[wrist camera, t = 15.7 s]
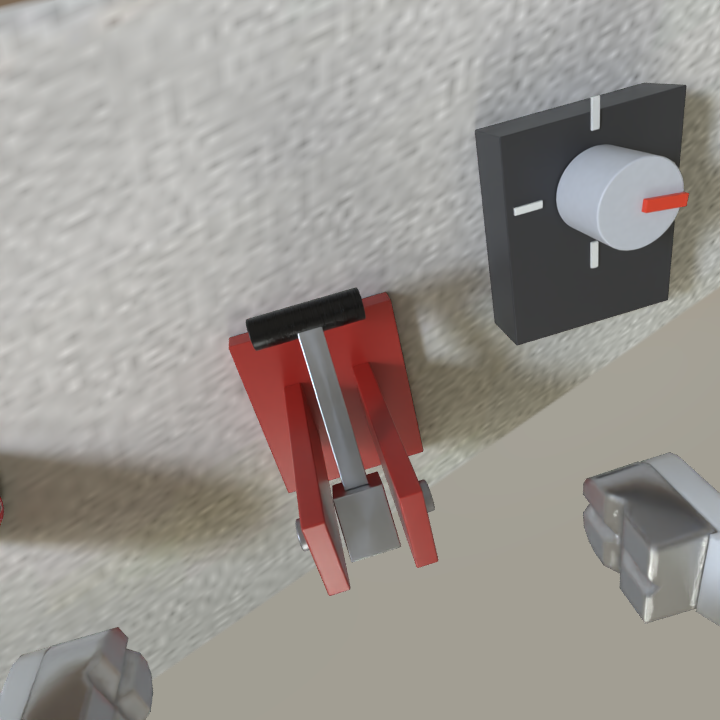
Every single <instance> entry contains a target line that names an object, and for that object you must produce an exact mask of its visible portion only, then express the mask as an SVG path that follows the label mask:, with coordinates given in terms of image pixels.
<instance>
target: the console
mask: <svg viewBox="0 0 720 720" xmlns="http://www.w3.org/2000/svg"><path fill="white" fill-rule="evenodd" d="M685 96H686V85H675V84H654V83H642V84H638V85H635V86H631V87H628V88H624V89H621V90H617V91H613V92H610V93H606V94H603V95H597V96H594V97H591V98H588V99H585V100H581V101H578V102H574V103H570V104H567V105H563V106H560V107H556V108H552V109H549V110H545V111H542V112H538V113H535V114H531V115H527V116H524V117H520V118H517V119H513V120H510V121H506V122H502V123H499V124H495V125H492V126H488V127H484V128H481V129H477V130H475V137H476V146H477V156H478V165H479V175H480V184H481V194H482V204H483V213H484V223H485V232H486V242H487V251H488V261H489V271H490V280H491V290H492V299H493V309H494V318H495V323H496V325H497V326H498V327H499V328H500V329H501V330H502V331H503V332H504V333H505V334H506V335H507V336H508V337H509V338H510V339H511V340H512V341H513V342H514V343H515V344H516V345H520V344H524V343H527V342H530V341H534V340H537V339H540V338H543V337H547V336H550V335H553V334H557V333H560V332H563V331H567V330H570V329H573V328H577V327H580V326H583V325H586V324H590V323H593V322H596V321H600V320H603V319H606V318H610V317H613V316H616V315H620V314H623V313H626V312H630V311H633V310H636V309H639V308H643V307H646V306H649V305H653V304H656V303H659V302H663V301H666V300H668V292H669V280H670V269H671V257H672V246H673V234H674V223H675V219H674V221H673V222H672V224H671V225H670V227H669V228H668V229H667V230H666V231H665V232H664V233H663V234H662V235H661V236H660V237H659V238H658V239H656V240H655V241H653V242H652V243H650V244H648V245H646V246H644V247H642V248H639V249H635V250H628V251H625V250H617V249H615V248H612V247H610V246H608V245H606V244H604V243H602V242H600V241H598V240H596V239H594V238H592V237H590V236H588V235H586V234H584V233H582V232H580V231H578V230H576V229H574V228H572V227H570V226H569V225H567V224H566V223H565V222H564V221H563V219H562V218H561V216H560V214H559V212H558V208H557V202H556V194H557V188H558V184H559V181H560V179H561V176H562V174H563V173H564V171H565V169H566V168H567V166H568V165H569V164H570V163H571V162H572V160H573V159H574V158H576V157H577V156H578V155H579V154H580V153H582V152H583V151H585V150H587V149H589V148H591V147H594V146H597V145H604V144H607V145H614V146H619V147H623V148H628V149H632V150H637V151H641V152H646V153H650V154H655V155H659V156H663V157H666V158H668V159H670V160H671V161H673V162H674V163H675V164H676V166H677V167H678V168H679V165H680V153H681V142H682V130H683V119H684V107H685Z"/></svg>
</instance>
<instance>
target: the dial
mask: <svg viewBox="0 0 720 720" xmlns="http://www.w3.org/2000/svg"><path fill="white" fill-rule="evenodd" d="M688 196H689V193H686V192H684V182H683V177H682V174H681V172H680V170H679V168H678V167H677V166H676V164H675V163H674V162H673V161H671V160H670V159H668V158H666V157H663V156H659V155H655V154H650V153H646V152H641V151H637V150H632V149H628V148H623V147H619V146H614V145H607V144H604V145H597V146H594V147H591V148H589V149H587V150H585V151H583V152H582V153H580V154H579V155H578V156H577V157H576V158H574V159H573V160H572V162H571V163H570V164H569V165H568V166H567V168H566V169H565V171H564V173H563V174H562V176H561V179H560V181H559V184H558V188H557V194H556V202H557V208H558V212H559V214H560V216H561V218H562V219H563V221H564V222H565V223H566V224H567V225H569V226H570V227H572V228H574V229H576V230H578V231H580V232H582V233H584V234H586V235H588V236H590V237H592V238H594V239H596V240H598V241H600V242H602V243H604V244H606V245H608V246H610V247H612V248H615V249H617V250H625V251H628V250H635V249H639V248H642V247H644V246H646V245H648V244H650V243H652V242H653V241H655V240H656V239H658V238H659V237H660V236H661V235H662V234H663V233H664V232H665V231H666V230H667V229H668V228H669V227H670V225H671V224H672V222H673V221H674V219H675V218H676V216H677V214H678V212H679V209H680V207H684V206H687V201H688Z"/></svg>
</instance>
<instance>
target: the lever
mask: <svg viewBox="0 0 720 720" xmlns="http://www.w3.org/2000/svg"><path fill="white" fill-rule="evenodd" d="M364 319H366V314H365V310H364V306H363V302H362V299H361V296H360V293H359V290H358V289H357V288H352V289H349V290H345V291H342V292H338V293H335V294H332V295H328V296H325V297H321V298H318V299H314V300H311V301H308V302H304V303H301V304H297V305H294V306H290V307H287V308H284V309H280V310H277V311H273V312H270V313H266V314H263V315H259V316H256V317H253V318H249V319H247V320H246V326H247V331H248V334H249V337H250V340H251V343H252V345H253V347H254V349H255V350H256V351H259V350H262V349H265V348H269V347H272V346H276V345H279V344H282V343H286V342H289V341H293V340H296V339H299V341H300V345H301V348H302V351H303V355H304V358H305V361H306V365H307V368H308V371H309V375H310V378H311V381H312V385H313V388H314V391H315V395H316V398H317V401H318V405H319V408H320V411H321V415H322V418H323V421H324V425H325V428H326V431H327V435H328V438H329V441H330V445H331V448H332V451H333V454H334V458H335V461H336V464H337V468H338V471H339V474H340V478H341V481H342V483H339V484H335V485H333V486H332V489H333V503H334V506H335V510H336V513H337V516H338V520H339V523H340V526H341V530H342V533H343V536H344V540H345V543H346V546H347V550H348V553H349V556H350V559H351V562H355V561H358V560H361V559H365V558H368V557H371V556H374V555H377V554H380V553H384V552H387V551H390V550H393V549H396V548H399V547H401V544H400V541H399V537H398V534H397V530H396V527H395V524H394V520H393V517H392V514H391V510H390V507H389V504H388V500H387V497H386V494H385V490H384V487H383V484H382V481H381V479H380V476H379V474H378V472H374V473H371V474H368V475H366V472H365V469H364V466H363V462H362V459H361V456H360V452H359V449H358V446H357V442H356V439H355V435H354V432H353V429H352V425H351V422H350V419H349V415H348V412H347V409H346V405H345V402H344V399H343V395H342V392H341V389H340V385H339V382H338V379H337V375H336V372H335V369H334V365H333V362H332V359H331V355H330V352H329V348H328V345H327V342H326V338H325V335H324V332H323V331H326V330H330V329H333V328H337V327H340V326H343V325H347V324H350V323H354V322H357V321H360V320H364Z"/></svg>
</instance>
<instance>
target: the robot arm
mask: <svg viewBox="0 0 720 720" xmlns="http://www.w3.org/2000/svg"><path fill="white" fill-rule="evenodd" d="M583 495H584V496H585V498H586V499H587V500H588V502H589V503H590V504H589V505H588V506H587V508H586V509H585V511H584V512H583V516H584V517H583V518H584V528H585V531H586V534H587V537H588V540H589V542H590V544H591V546H592V548H593V550H594V552H595V553H596V555H597V556H598V558H599V559H600V561H601V562H602V564H603V565H604V566H606V567H608V568H610V569H612V570H614V571H616V572H618V573H620V589H621V590H622V592H623V593H624V595H625V596H626V597H627V599H628V600H629V602H630V603H631V604H632V606H633V607H634V608H635V610H636V611H637V613H638V614H639V616H640V617H641V618H642V620H643V621H644V622H645V623H649V622H653V621H656V620H659V619H663V618H666V617H670V616H673V615H676V614H680V613H683V612H686V611H690V610H693V609H696V612H697V613H699V614H701V615H702V616H704V617H705V618H707V619H709V620H711V621H712V622H714V623H715V624H717V625H718V626H720V493H719V492H718V491H717V490H716V489H715V488H714V487H712V486H711V485H710V484H709V483H708V482H707V481H706V480H705V479H704V478H702V477H701V476H700V475H699V474H698V473H697V472H696V471H695V470H694V469H692V468H691V467H690V466H689V465H688V464H687V463H686V462H685V461H684V460H682V459H681V458H680V457H679V456H678V455H676V454H673V453H671V452H669V453H666V454H663V455H659V456H656V457H653V458H650V459H647V460H643V461H641V462H635V463H632V464H629V465H626V466H623V467H620V468H617V469H614V470H611V471H608V472H605V473H602V474H599V475H596V476H593V477H590V478H587V479H586V480H585V482H584V484H583ZM127 641H128V637H127V636H126V635H125V634H124V633H123V632H122V631H121V630H120V629H119V627H117V628H113V629H109V630H106V631H102V632H99V633H95V634H92V635H88V636H85V637H81V638H78V639H74V640H71V641H67V642H64V643H60V644H57V645H53V646H50V647H47V648H43V649H40V650H37V651H34V652H30V653H27V654H24V655H21V656H20V657H19V658H18V659H17V661H16V662H15V663H14V664H13V665H12V667H11V669H10V671H9V674H8V677H7V679H6V682H5V684H4V687H3V690H2V692H1V695H0V720H146V718H147V716H148V715H149V713H150V712H151V704H152V696H153V688H152V677H151V672H150V669H149V666H148V664H147V661H146V660H145V659H144V657H143V656H142V655H141V653H139V652H136V651H132V650H129V649H126V647H127Z"/></svg>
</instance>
